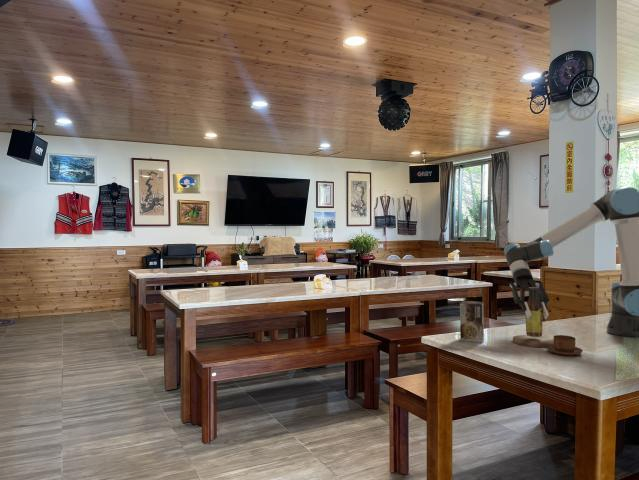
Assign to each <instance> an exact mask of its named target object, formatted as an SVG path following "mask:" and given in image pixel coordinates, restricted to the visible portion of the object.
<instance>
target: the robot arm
mask: <svg viewBox="0 0 639 480" xmlns="http://www.w3.org/2000/svg"><path fill="white" fill-rule="evenodd" d="M607 220H609V222H611V223H613V224H614V228H615V237H616V243H617V250H618V259H619V264H620V272H621V279H622V280H621V281H617V282H616V281H615V282H613V283H612V284H611V288H610V291H611V295H610V296H611V300H610V301H611V302H610V303H611V307H610V308H611V309H610V312H611V314H610V318H609V320H608V323H607V326H606V332H607V333H608V334H611V335H616V336H622V337H634V338H636V337H637V338H639V189H637V188H635V187H634V186H633V187H632V186H622V187H618V188H615V189H611V190H609V191H608V192H606V193H605V194H604V195H603V196H602V197H600V198H599V199H597V200H596V201H594V202H593V203H591V204H590V206H589V207H588V208H587V209H585V210H583V211H581V212H579V213H578V214H577V215H575V216H574V217H571V218H570V219H567V220H566V221H565V222H563V223H561V224H559V225H557V226H556V227H554V228H553V229H552V230H549V231H547V232H546V233H544V234H542V235H540V236H539V237H538V238H536V239H534V240H532V241H530V242H528V243H526V244H525V245H520V244H519V243H517V242H511V243H509V244H507V245H506V246H505V247H504V250H503V254H504V255H505V259H506V261H507V265H508V268H509V270H510V272H511V275H512V279H513V281H514V282H513V281H511V282H510V283H509V286H508V287H509V288H510V290H511V294H512V297H513V301H514V304H515V305H518V306H519V307H521V310H522V311H523V312H524V313H525V317H526V316H527V319H530V317H531V312H530V310H529V307H528V304H527V301H525V296H526V295H525V294H526V292H529V291H528V288H529V287H537V288H539V300H540V302H541V305H542V317H543V319H544V320H547V319H548V317H549V315H550V314H549V312H548V311H549V310H548V309H549V307H548V304H549V302H550V298H549V296H548V293H547V292H546V289H545V288H544V284H543V282H542V281H540V282H536V281H535V280H534V277H533V274H532V272H531V269H530V267H529V264H528V263H530V262H533V261H536V260H542V259H546V258H549V257H552V256H554V252H555V251H554V249H555V248H556V247H558V246H560V245H561V244H563V243H565V242H567V241H568V240H570V239H572V238H574V237H576V236H577V235H579V234H581V233H583V232H584V231H586V230H587V229H589V228H591V227H593V226H595V225H597V224H598V223H600V222H606V221H607ZM517 288H518V289H519V293H518V289H517Z"/></svg>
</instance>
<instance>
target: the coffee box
mask: <svg viewBox="0 0 639 480" xmlns="http://www.w3.org/2000/svg"><path fill="white" fill-rule="evenodd" d="M484 311H485V310H484V301H469V300H468V301H467V300H466V301H465V300H462V301H461V302H459V323H460V324H459V325H460V326H459V331H460V332H459V334H460V335H459V336H460V337H459V341H460V342H467V341H473V342H472V343H480V342H481V343H484V341H485V338H484V337H485V336H484V335H485V333H484V332H485V331H484V330H485V327H484V324H485V323H484V322H485V321H484V319H485V317H484V315H485V313H484Z"/></svg>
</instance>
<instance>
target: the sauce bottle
mask: <svg viewBox="0 0 639 480" xmlns="http://www.w3.org/2000/svg"><path fill="white" fill-rule="evenodd" d="M527 292H528V300H527V301H526V302H527V304H528V307H529V310H530V312H531V317H530V319H527V316H526V315H525V332H526V333H525V335H528V336H531V337H541V336H543V333H544V332H543V313H542V305H541V302H540V300H539V288H537V287H536V286H535V287H529V288H528V291H527Z"/></svg>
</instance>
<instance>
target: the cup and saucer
mask: <svg viewBox="0 0 639 480" xmlns="http://www.w3.org/2000/svg"><path fill="white" fill-rule="evenodd" d="M553 339H554V345H549V346H547V348H546V349H547V350H548V352H550V353H553V354H556V355H561V356H578V355H580V354H582V353H583V351H584V350H583V349H582V348H580V347H577V346H576V337H575V336H572V335H562V334H561V335H560V334H557V335H553Z"/></svg>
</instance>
